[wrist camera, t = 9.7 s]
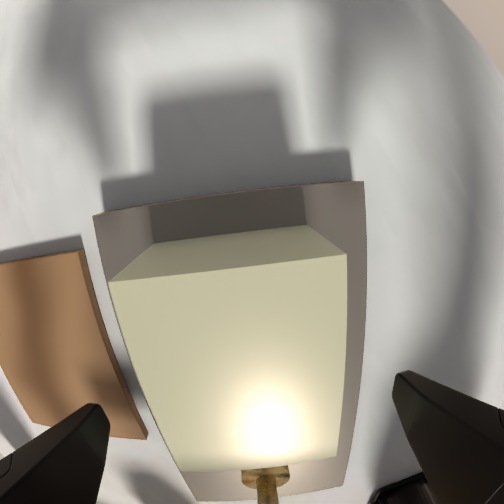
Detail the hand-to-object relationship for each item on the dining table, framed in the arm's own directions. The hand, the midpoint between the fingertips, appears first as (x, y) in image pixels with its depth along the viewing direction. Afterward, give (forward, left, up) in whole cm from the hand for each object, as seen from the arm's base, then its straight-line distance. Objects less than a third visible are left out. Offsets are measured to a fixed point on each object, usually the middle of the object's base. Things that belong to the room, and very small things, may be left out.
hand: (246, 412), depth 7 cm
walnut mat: (+12, +2, -6) cm, 14 cm away
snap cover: (0, 0, -5) cm, 5 cm away
